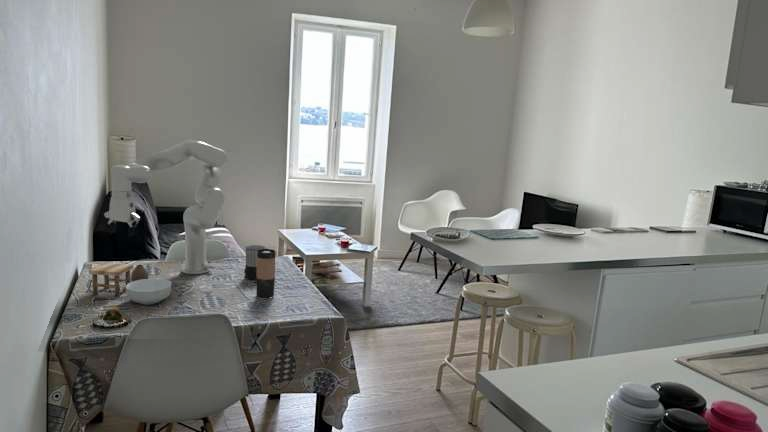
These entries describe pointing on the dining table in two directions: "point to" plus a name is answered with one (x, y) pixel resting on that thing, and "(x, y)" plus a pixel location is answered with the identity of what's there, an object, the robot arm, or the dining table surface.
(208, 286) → the dining table surface
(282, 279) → the dining table surface
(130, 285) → the cereal bowl
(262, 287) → the travel mug
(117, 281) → the stool
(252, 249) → the milk frother
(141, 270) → the vase
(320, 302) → the dining table surface
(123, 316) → the mossy pebble dish
